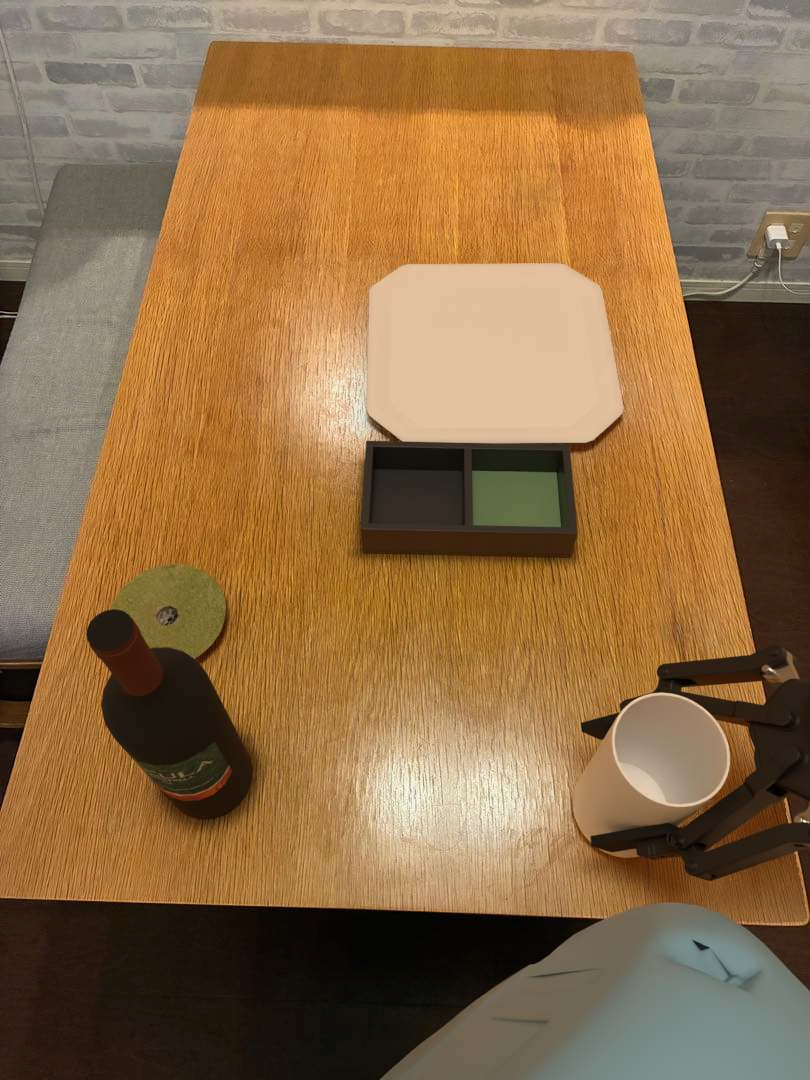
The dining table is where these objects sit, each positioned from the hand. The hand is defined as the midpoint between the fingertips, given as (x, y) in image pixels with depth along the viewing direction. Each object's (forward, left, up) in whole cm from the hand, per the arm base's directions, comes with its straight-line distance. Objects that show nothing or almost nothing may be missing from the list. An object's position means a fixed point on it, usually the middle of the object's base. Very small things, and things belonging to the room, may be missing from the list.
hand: (595, 785), depth 68 cm
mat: (+17, +39, -8) cm, 43 cm away
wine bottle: (+2, +33, -8) cm, 34 cm away
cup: (0, -3, -6) cm, 7 cm away
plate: (+53, +7, -8) cm, 54 cm away
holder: (+31, +10, -8) cm, 33 cm away
